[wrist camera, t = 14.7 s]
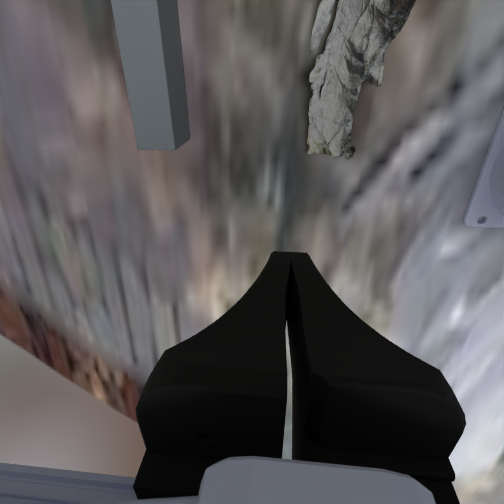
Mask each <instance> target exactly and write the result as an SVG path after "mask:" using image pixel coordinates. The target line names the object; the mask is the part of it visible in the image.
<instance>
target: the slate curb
mask: <svg viewBox="0 0 504 504" xmlns="http://www.w3.org/2000/svg"><path fill="white" fill-rule="evenodd" d="M111 4H112V10H113V15H114V21H115V26H116V32H117V37H118V43H119V48H120V54H121V59H122V65H123V70H124V76H125V82H126V87H127V93H128V98H129V104H130V109H131V115H132V120H133V126H134V131H135V137H136V142H137V148H138V150H176V149H177V148H179V147H180V146H181V145H183V144H184V143H185V142H186V141H188V140H189V139H190V131H189V121H188V110H187V100H186V90H185V79H184V69H183V59H182V49H181V38H180V28H179V18H178V7H177V0H111Z"/></svg>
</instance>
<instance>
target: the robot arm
mask: <svg viewBox="0 0 504 504" xmlns="http://www.w3.org/2000/svg"><path fill="white" fill-rule="evenodd" d="M482 216H485V217H484V220H483V221H481V222H477V221H478V219H479V218H480V217H482ZM463 223H464V224H465V225H467V226H469V227H487V228H504V108H503V110H502V113H501V116H500V119H499V121H498V124H497V127H496V129H495V132H494V135H493V138H492V140H491V143H490V146H489V148H488V151H487V154H486V157H485V159H484V162H483V165H482V167H481V170H480V173H479V176H478V178H477V181H476V184H475V186H474V189H473V192H472V195H471V197H470V200H469V203H468V206H467V208H466V211H465V214H464V216H463ZM286 321H287V326H288V336H289V346H290V357H291V367H292V460H289V459H282V450H283V438H284V427H285V415H286V404H287V361H286V335H285V329H286ZM136 417H137V421H138V424H139V428H140V431H141V434H142V437H143V440H144V443H145V447H146V452H145V455H144V457H143V460H142V463H141V465H140V468H139V471H138V474H137V476H136V478H134V477H125V476H116V475H107V474H98V473H89V472H79V471H71V470H62V469H52V468H43V467H33V466H24V465H16V464H7V463H0V504H460V503H459V500H458V497H457V495H456V492H455V490H454V487H453V485H452V482H453V481H454V480H455V473H454V470H453V468H452V465H451V463H450V460H449V458H448V457H449V456H450V454H451V452H452V451H453V449H454V447H455V446H456V444H457V442H458V441H459V439H460V437H461V435H462V434H463V431H464V428H465V425H466V420H465V414H464V412H463V410H462V408H461V406H460V404H459V402H458V400H457V398H456V396H455V394H454V392H453V390H452V389H451V387H450V385H449V384H448V382H447V381H446V379H445V378H444V376H443V374H442V373H441V371H440V370H439V369H437V368H435V367H433V366H431V365H429V364H428V363H426V362H424V361H422V360H420V359H419V358H417V357H415V356H413V355H411V354H410V353H408V352H406V351H405V350H403V349H401V348H400V347H398V346H397V345H395V344H394V343H392V342H391V341H389V340H388V339H386V338H385V337H383V336H382V335H380V334H379V333H378V332H376V331H375V330H374V329H373V328H371V327H370V326H369V325H367V324H366V323H365V322H364V321H362V320H361V319H360V318H359V317H358V316H357V315H356V314H354V313H353V312H352V311H351V310H350V309H349V308H348V307H347V306H346V305H345V304H344V303H343V302H342V301H341V299H340V298H339V297H338V296H337V295H336V294H335V293H334V291H333V290H332V289H331V288H330V286H329V285H328V284H327V282H326V281H325V280H324V278H323V277H322V276H321V274H320V273H319V271H318V270H317V268H316V266H315V265H314V263H313V261H312V260H311V258H310V256H309V255H308V254H307V253H300V252H278V251H274V252H272V253H271V255H270V258H269V260H268V262H267V264H266V265H265V267H264V269H263V270H262V272H261V273H260V275H259V276H258V278H257V279H256V281H255V282H254V283H253V285H252V286H251V287H250V288H249V290H248V291H247V292H246V293H245V294H244V295H243V297H242V298H241V299H240V300H239V301H238V302H237V303H236V304H235V305H234V306H233V307H232V308H231V309H229V310H228V311H227V312H226V313H225V314H224V315H222V316H221V317H220V318H219V319H218V320H216V321H215V322H214V323H212V324H211V325H209V326H208V327H206V328H205V329H203V330H202V331H201V332H199V333H197V334H196V335H194V336H192V337H191V338H189V339H187V340H185V341H183V342H181V343H179V344H177V345H175V346H173V347H171V348H169V349H167V350H165V351H164V353H163V355H162V356H161V358H160V359H159V361H158V362H157V364H156V366H155V368H154V369H153V371H152V372H151V374H150V376H149V378H148V380H147V382H146V385H145V387H144V390H143V392H142V394H141V397H140V399H139V401H138V404H137V407H136ZM451 481H452V482H451Z"/></svg>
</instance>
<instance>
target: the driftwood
mask: <svg viewBox="0 0 504 504" xmlns="http://www.w3.org/2000/svg"><path fill="white" fill-rule="evenodd" d="M335 1H336V0H322V1H321V3H320V5H319V7H318V10H317V16H316V20H315V23H314V27H313V29H312V36H311V41H310V46H309V50H310V53H311V54H312V53H314V51H315V49H316V48H317V46H318V45H319V43H320V40H321V38H322V36H323V34H324V31H325V29H326V28H327V26H328V24H329V20H330V19H331V13H332V9H333V6H334V3H335ZM415 1H416V0H340V1H339V2H338V6H337V12H336V18H335V21H334V23H333V27H332V31H331V33H330V34H329V36H328V38H327V40H326V46H325V51H324V52H323V55H322V54H319V55H317V58H316V65H315V67H314V69H313V70H312V71H311V73H310V76H309V81H310V83H311V82H312V84H311V89H313V96H312V98H311V100H310V104H309V113H308V116H309V122H310V125H309V129H308V139H307V144H308V147H309V149H308V150H307V154H311V153H313V152H314V153H315V154H328V152H329V153H330V155H331V156H332V157H333V158H337V157H340V156H342V155H343V153H344V149H345V145H346V144H347V143H348V141H350V140H351V136H352V135H351V134H350V133H351V127H352V121H353V117H352V115H353V112H354V110H355V107H356V104H357V101H358V98H357V97H358V95H359V93H360V88H361V83H362V82H363V81H365V80H367V81H369V83H370V84H372V85H374V86H376V87H377V86H380V85H381V82H382V76H383V70H384V53H385V51H386V49H387V47H388V44H389V43H390V42H391V41H392V40H393V39H394V38H395V37H396V35H397V34H398V33H399V32H400V31H401V29H402V27H403V26H404V24H405V22H406V21H407V19H408V17H409V14H410V11H411V9H412V7H413V6H414V4H415ZM326 70H327V73H326ZM325 73H326V79H325V83H324V81H323V80H324V77H325ZM321 84H324V85H323V87H322V90H321V97H320V95H319V91H320V86H321ZM350 142H351V141H350ZM354 152H355V146H354V145H352V146H351V147H349V148H348V149H347V151H346V159H350V158H351V157H353V154H354Z"/></svg>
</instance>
